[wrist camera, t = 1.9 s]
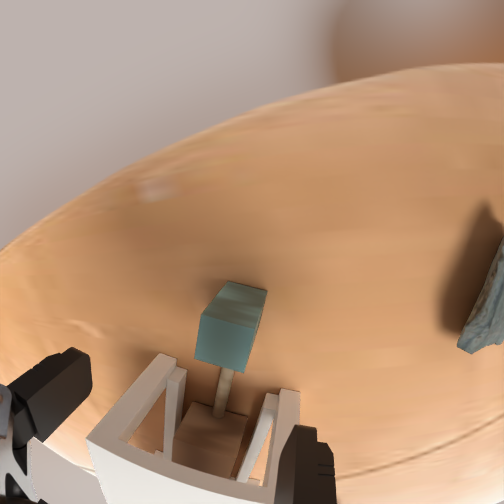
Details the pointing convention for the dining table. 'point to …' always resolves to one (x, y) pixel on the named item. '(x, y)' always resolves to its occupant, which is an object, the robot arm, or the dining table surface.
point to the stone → (487, 310)
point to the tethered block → (220, 381)
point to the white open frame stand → (159, 464)
